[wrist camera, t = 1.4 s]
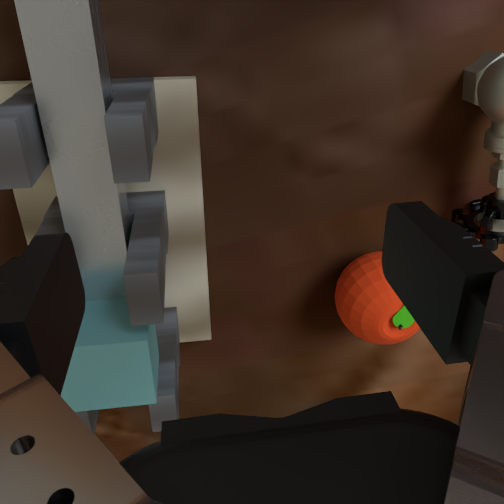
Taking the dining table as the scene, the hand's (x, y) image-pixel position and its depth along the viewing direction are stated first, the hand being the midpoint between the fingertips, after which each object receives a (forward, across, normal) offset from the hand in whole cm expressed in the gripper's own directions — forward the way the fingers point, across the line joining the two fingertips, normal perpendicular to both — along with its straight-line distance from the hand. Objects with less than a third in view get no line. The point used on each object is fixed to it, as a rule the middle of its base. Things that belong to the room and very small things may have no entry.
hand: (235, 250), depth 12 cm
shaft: (+17, +6, +4) cm, 18 cm away
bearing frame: (+20, +7, +9) cm, 23 cm away
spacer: (+13, +7, +12) cm, 19 cm away
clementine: (+21, -12, +14) cm, 28 cm away
